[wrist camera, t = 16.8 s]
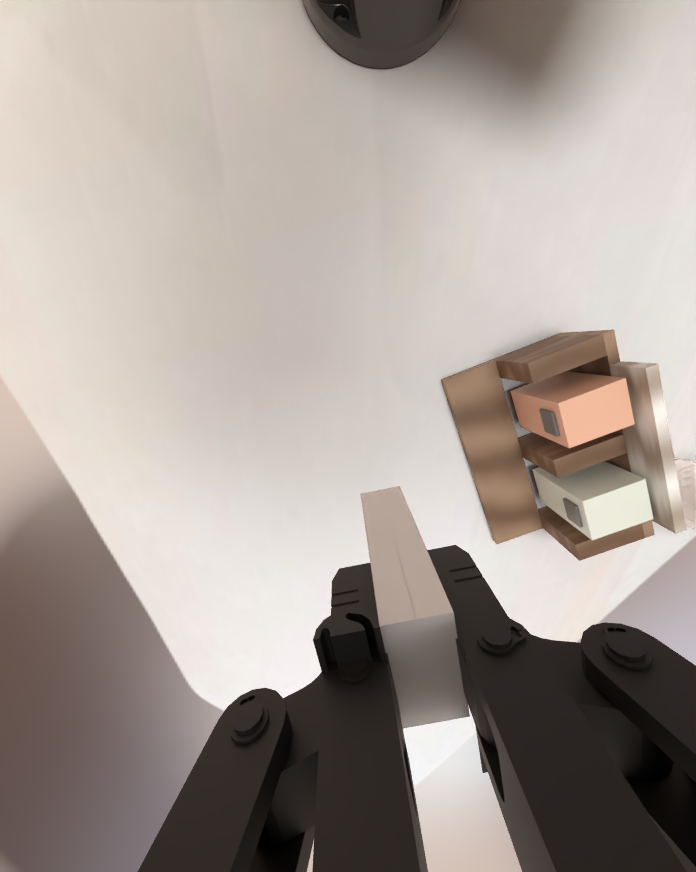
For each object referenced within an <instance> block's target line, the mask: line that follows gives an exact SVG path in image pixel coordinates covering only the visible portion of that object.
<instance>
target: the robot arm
mask: <svg viewBox="0 0 696 872" xmlns="http://www.w3.org/2000/svg"><path fill="white" fill-rule="evenodd" d="M303 2H304V5H305V8H306V10H307V13H308V15H309V17H310V19H311V21H312V23H313V24H314V26H315V28H316V29H317V31H318V32H319V34H320V35H321V36H322V38H323V39H324V40H325V41H326V42H327V43H328V44H329V45H330V46H331V47H332V48H333V49H334V50H335V51H336V52H338V53H339V54H340V55H342V56H343V57H345V58H347V59H348V60H350V61H352V62H354V63H357V64H360V65H363V66H366V67H372V68H391V67H396V66H400V65H403V64H406V63H408V62H411V61H413V60H415V59H416V58H418V57H420V56H421V55H422V54H424V53H425V52H426V51H428V50H429V49H430V48H431V47H432V46H433V45H434V44H435V43H436V42H437V41H438V40H439V39H440V38H441V36H442V35H443V34H444V32H445V31H446V29H447V28H448V26H449V25H450V23H451V21H452V19H453V17H454V15H455V13H456V11H457V8H458V6H459V3H460V0H303ZM361 500H362V507H363V514H364V521H365V528H366V535H367V542H368V549H369V556H370V563H367V564H361V565H356V566H351V567H346V568H341V569H339V570H338V572H337V574H336V575H335V577H334V579H333V580H332V599H331V606H332V608H331V616H329V617H328V618H326V619H325V620H323V622H322V623H321V624H320V626H319V627H318V628H317V629H316V632H315V635H314V639H313V641H314V645H315V648H316V652H317V656H318V659H319V663H320V667H321V670H322V672H321V674H320V675H319V676H318V677H317V678H316V679H315V680H314V681H313V682H312V683H310V684H309V685H307V686H306V687H304V688H302V689H301V690H299V691H297V692H295V693H293V694H291V695H289V696H287V697H285V698H282V697H281V696H280V695H279V693H278V692H277V691H275V690H271V689H268V688H261V689H255V690H251V691H249V692H247V693H245V694H243V695H241V696H240V697H238V698H237V699H236V700H235V701H234V702H233V703H232V704H230V705H229V706H228V707H227V709H226V710H225V711H224V713H223V714H222V716H221V717H220V719H219V720H218V722H217V724H216V726H215V727H214V729H213V732H212V733H211V735H210V737H209V739H208V741H207V743H206V745H205V746H204V748H203V750H202V752H201V754H200V756H199V758H198V759H197V762H196V763H195V765H194V767H193V769H192V771H191V773H190V774H189V776H188V778H187V780H186V782H185V784H184V786H183V788H182V789H181V791H180V793H179V795H178V797H177V799H176V801H175V803H174V805H173V806H172V809H171V810H170V812H169V814H168V816H167V818H166V820H165V821H164V823H163V825H162V827H161V829H160V831H159V833H158V835H157V837H156V838H155V840H154V842H153V844H152V846H151V848H150V850H149V852H148V854H147V855H146V857H145V859H144V861H143V863H142V865H141V867H140V869H139V870H138V872H307V867H308V863H309V858H310V854H311V849H312V844H313V840H314V855H313V872H428V869H427V864H426V858H425V852H424V846H423V840H422V834H421V828H420V823H419V817H418V811H417V805H416V799H415V794H414V787H413V781H412V775H411V770H410V764H409V758H408V753H407V749H406V744H405V739H404V733H403V728H408V727H413V726H419V725H424V724H430V723H435V722H441V721H446V720H452V719H458V718H463V717H469V716H470V715H469V709H468V705H469V708H470V711H471V714H472V716H473V719H474V722H475V725H476V731H477V738H478V745H479V750H480V758H481V764H482V770H483V773H485V772H488V773H489V776H490V779H491V782H492V785H493V788H494V791H495V794H496V797H497V799H498V802H499V805H500V808H501V811H502V814H503V817H504V820H505V823H506V825H507V828H508V831H509V834H510V837H511V839H512V843H513V846H514V848H515V852H516V854H517V857H518V860H519V863H520V866H521V869H522V872H696V666H695V665H694V664H692V663H691V662H689V661H688V660H686V659H685V658H684V657H682V656H681V655H679V654H678V653H676V652H675V651H673V650H672V649H670V648H669V647H667V646H666V645H664V644H663V643H661V642H660V641H658V640H657V639H655V638H654V637H652V636H650V635H648V634H647V633H645V632H642V631H641V630H639V629H637V628H633V627H630V626H626V625H623V624H616V623H601V624H596V625H592V626H590V627H589V628H588V629H587V630H585V631H584V632H583V635H582V639H581V643H576V642H565V641H554V640H548V639H542V638H539V637H536V636H533V635H531V634H530V633H529V632H528V631H527V630H526V629H525V628H524V627H523V626H522V625H521V624H519V623H517V622H515V621H513V620H512V619H510V618H509V617H508V616H507V614H506V613H505V611H504V609H503V608H502V606H501V605H500V603H499V601H498V600H497V598H496V597H495V595H494V593H493V592H492V590H491V589H490V587H489V585H488V584H487V582H486V581H485V579H484V578H483V577H482V574H481V573H480V571H479V569H478V568H477V567H476V564H475V563H474V561H473V560H472V558H471V556H470V555H469V553H467V552H466V551H464V550H463V549H461V548H459V547H458V546H456V545H453V546H448V547H443V548H437V549H432V550H427V549H426V547H425V544H424V542H423V540H422V537H421V535H420V533H419V530H418V528H417V526H416V523H415V521H414V519H413V516H412V514H411V512H410V509H409V507H408V505H407V502H406V500H405V498H404V495H403V493H402V491H401V488H400V486H398V487H393V488H388V489H383V490H378V491H373V492H368V493H363V494H361Z"/></svg>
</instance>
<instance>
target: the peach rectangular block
mask: <svg viewBox="0 0 696 872" xmlns="http://www.w3.org/2000/svg"><path fill="white" fill-rule="evenodd" d="M511 395H512V399H513V402H514V406H515V409H516V413H517V416H518V420H519V424H520V427H522V428H525V429H527V430H529V431H531V432H534V433H536V434H538V435H540V436H543V437H545V438H547V439H549V440H552V441H554V442H556V443H558V444H561V445H563V446H565V447H567V448H572V447H574V446H577V445H580V444H582V443H585V442H588V441H591V440H593V439H596V438H599V437H601V436H604V435H607V434H610V433H612V432H615V431H618V430H620V429H623V428H626V427H628V426H631V425H634V424H635V422H634V417H633V412H632V407H631V402H630V397H629V392H628V387H627V382H626V378H623V377H614V376H605V375H596V374H587V373H578V372H569V371H565V372H563V373H560V374H557V375H555V376H552V377H550V378H547V379H544V380H542V381H539V382H537V383H534V384H532V383H530V384H527V385H524V386H522V387H519V388H517V389H514V390H511Z"/></svg>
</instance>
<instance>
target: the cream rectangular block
mask: <svg viewBox="0 0 696 872" xmlns="http://www.w3.org/2000/svg"><path fill="white" fill-rule="evenodd" d="M532 470H533V474H534V477H535V481H536V484H537V488H538V491H539V495H540V499H541V501H542V502H543V503H544V504H545V505H547V506H548V507H549V508H551V509H552V510H553V511H555V512H556V513H557V514H558V515H560V516H561V517H562V518H564V519H565V520H566V521H568V522H569V523H570V524H571V525H573V526H574V527H575V528H577V529H578V530H579V531H581V532H582V533H583V534H584V535H586V536H587V537H588V538H590V539H591V540H595V539H598V538H601V537H603V536H606V535H609V534H612V533H615V532H618V531H621V530H624V529H626V528H629V527H632V526H635V525H638V524H641V523H644V522H646V521H649V520H652V519H653V514H652V509H651V504H650V499H649V494H648V489H647V484H646V479H645V478H642V477H640V476H638V475H635V474H633V473H631V472H628V471H626V470H624V469H622V468H619V467H617V466H615V465H612V464H610V463H608V462H605V461H603V462H601V463H598V464H595V465H593V466H590V467H587V468H584V469H582V470H579V471H576V472H573V473H571V474H568V475H565V476H562V477H560V478H557V477H555V476H554V475H552V474H550V473H549V472H547V471H545V470H544V469H542V468H540V467H538V468H535V469H532Z"/></svg>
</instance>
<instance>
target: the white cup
mask: <svg viewBox="0 0 696 872" xmlns="http://www.w3.org/2000/svg"><path fill="white" fill-rule="evenodd" d="M675 466H676V472H677V478H678V483H679V489H680V495H681V501H682V507H683V512H684V518H685V524H686V525H687V526H689V527H690V528H692V529H694V530H695V531H696V462H692V461H688V460H682V459H678V460H675Z"/></svg>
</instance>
